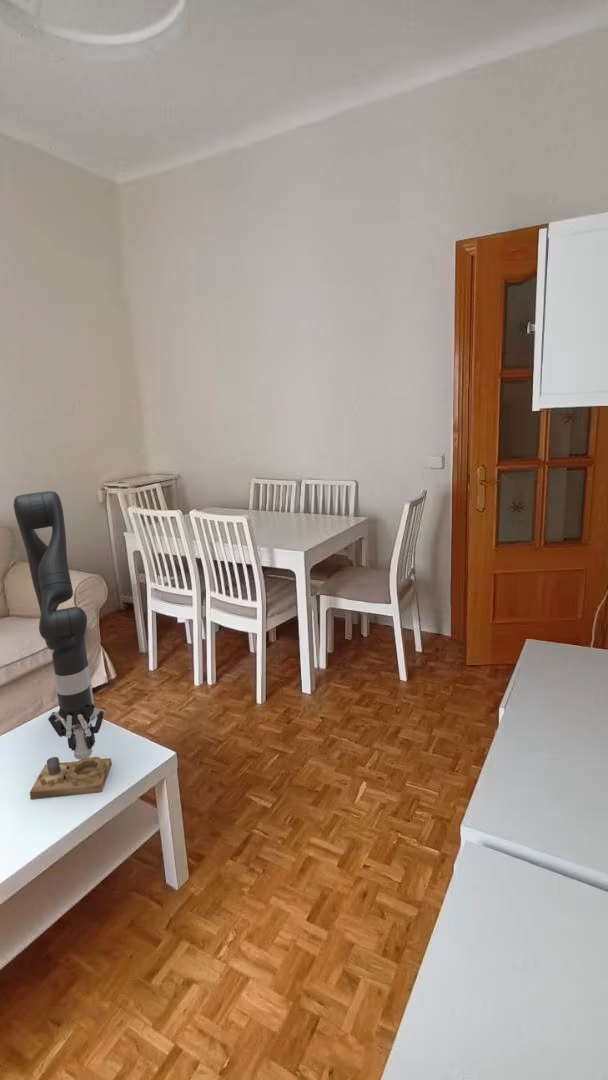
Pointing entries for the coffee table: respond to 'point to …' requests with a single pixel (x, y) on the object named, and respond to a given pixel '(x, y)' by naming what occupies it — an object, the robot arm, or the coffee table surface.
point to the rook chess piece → (81, 743)
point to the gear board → (68, 785)
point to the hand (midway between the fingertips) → (82, 747)
